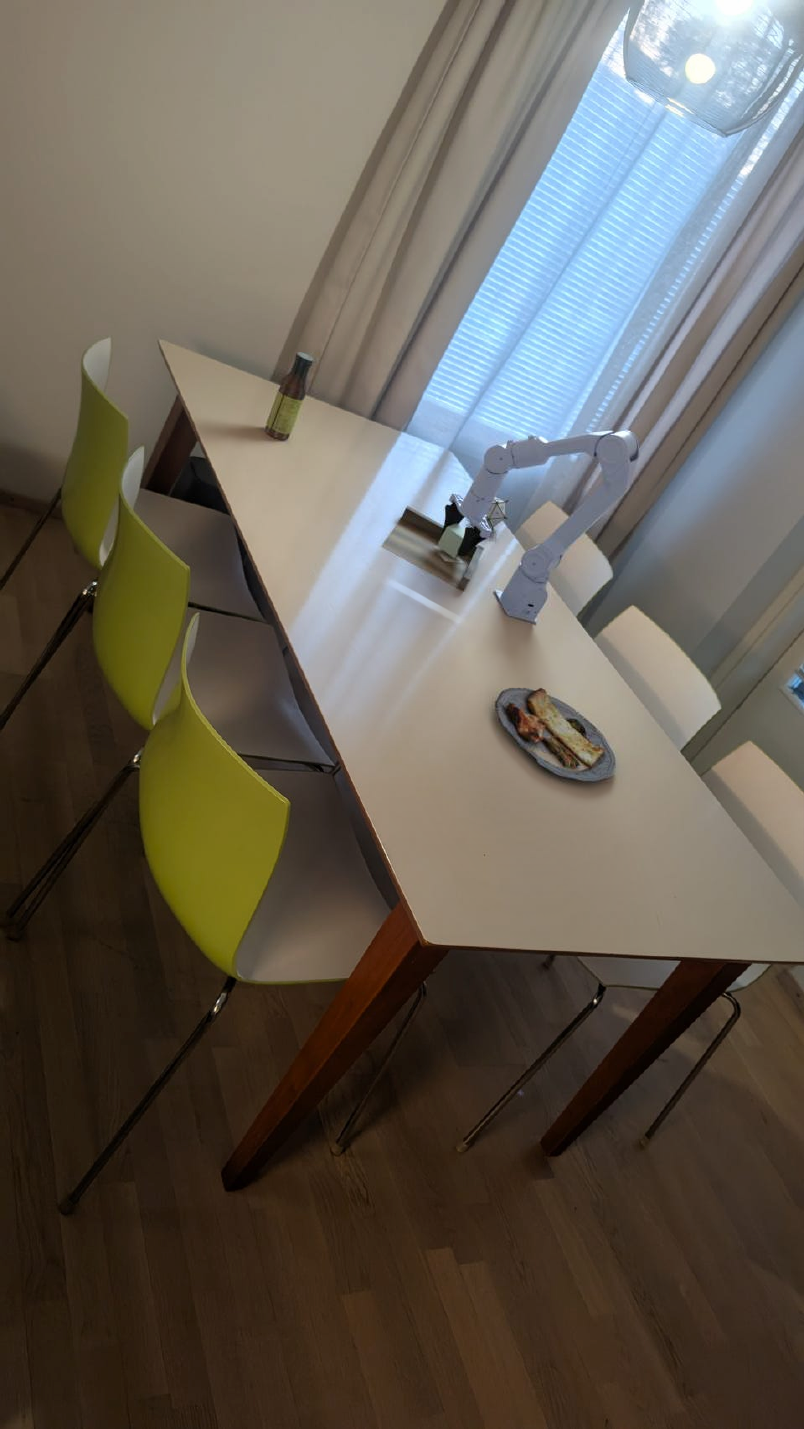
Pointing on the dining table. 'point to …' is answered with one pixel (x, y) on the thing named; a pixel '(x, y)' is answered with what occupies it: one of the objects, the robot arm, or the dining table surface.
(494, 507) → the game die
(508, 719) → the food plate
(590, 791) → the dining table surface
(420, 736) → the dining table surface
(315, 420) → the dining table surface
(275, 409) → the sauce bottle
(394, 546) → the arena
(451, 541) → the sage cube
